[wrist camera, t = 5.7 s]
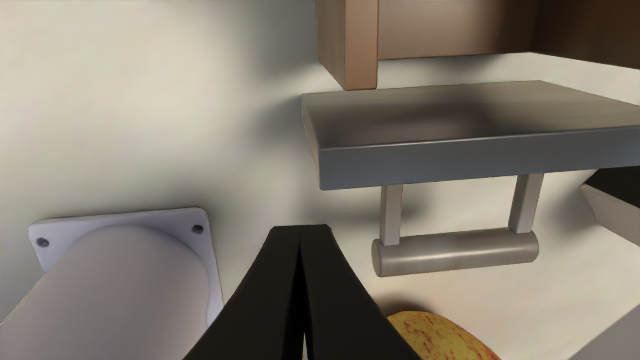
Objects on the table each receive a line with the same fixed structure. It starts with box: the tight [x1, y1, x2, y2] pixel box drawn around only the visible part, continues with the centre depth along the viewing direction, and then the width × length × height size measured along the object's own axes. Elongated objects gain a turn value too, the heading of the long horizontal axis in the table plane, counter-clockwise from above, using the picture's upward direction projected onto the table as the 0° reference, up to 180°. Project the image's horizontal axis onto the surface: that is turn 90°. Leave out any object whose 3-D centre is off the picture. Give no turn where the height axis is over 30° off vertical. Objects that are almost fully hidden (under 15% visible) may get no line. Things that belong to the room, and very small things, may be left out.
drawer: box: [302, 0, 640, 277], centre depth 12 cm, size 17×10×7 cm, turn 2°
